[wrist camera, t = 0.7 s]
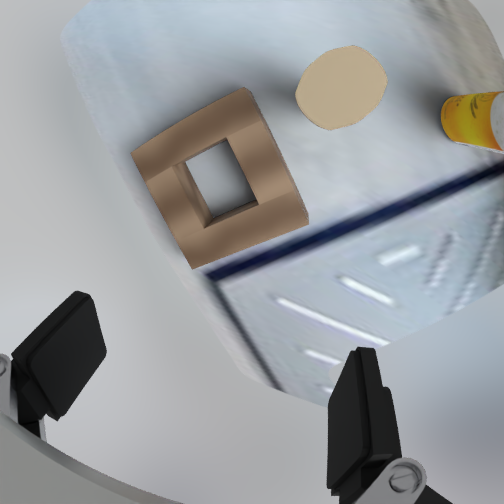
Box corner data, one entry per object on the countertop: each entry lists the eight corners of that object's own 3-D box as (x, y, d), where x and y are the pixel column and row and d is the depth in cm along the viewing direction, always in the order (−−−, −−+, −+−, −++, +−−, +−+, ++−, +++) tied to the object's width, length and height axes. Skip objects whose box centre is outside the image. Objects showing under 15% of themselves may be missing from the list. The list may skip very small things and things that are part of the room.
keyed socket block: (146, 149, 35) (130, 153, 31) (250, 91, 30) (243, 86, 27) (202, 256, 40) (192, 269, 36) (308, 213, 35) (308, 224, 31)
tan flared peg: (289, 107, 30) (280, 90, 17) (330, 72, 28) (349, 32, 14) (319, 137, 31) (332, 144, 18) (359, 103, 29) (400, 86, 15)
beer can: (472, 97, 25) (548, 94, 11) (478, 143, 27) (555, 162, 14) (434, 96, 26) (506, 86, 13) (441, 145, 29) (515, 163, 15)
